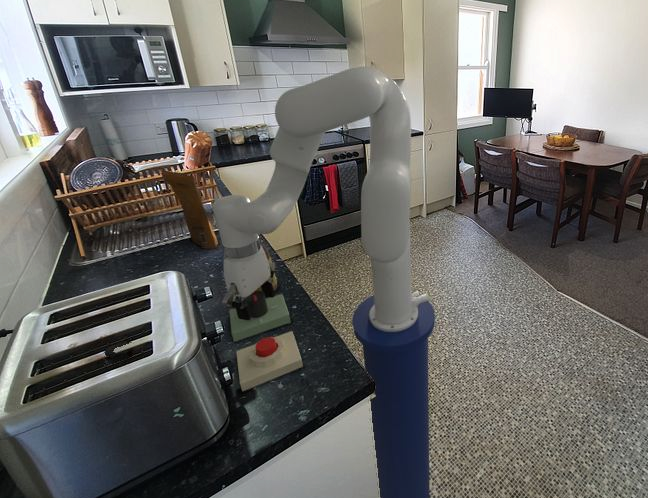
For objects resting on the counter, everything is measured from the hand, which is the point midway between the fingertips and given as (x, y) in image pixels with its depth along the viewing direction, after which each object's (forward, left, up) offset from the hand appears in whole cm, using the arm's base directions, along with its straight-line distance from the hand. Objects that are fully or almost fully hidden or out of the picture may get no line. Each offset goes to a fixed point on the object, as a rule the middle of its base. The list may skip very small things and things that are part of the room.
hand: (257, 306), depth 88 cm
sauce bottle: (-3, -13, -4) cm, 14 cm away
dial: (0, 0, -2) cm, 2 cm away
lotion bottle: (+20, +22, -4) cm, 30 cm away
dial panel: (0, 0, -4) cm, 4 cm away
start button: (0, +16, 0) cm, 16 cm away
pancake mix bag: (+13, -56, -4) cm, 58 cm away
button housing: (0, +16, -4) cm, 17 cm away
